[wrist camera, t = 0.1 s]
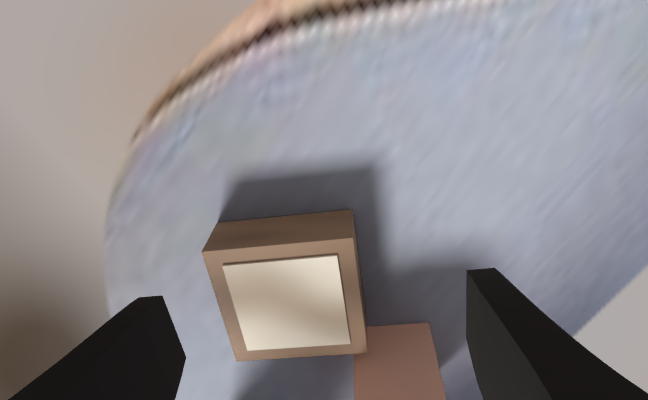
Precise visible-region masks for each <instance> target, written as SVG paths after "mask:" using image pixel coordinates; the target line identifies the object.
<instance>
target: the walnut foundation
mask: <svg viewBox="0 0 648 400" xmlns="http://www.w3.org/2000/svg"><path fill="white" fill-rule="evenodd" d="M202 255H203V258H204V261H205V264H206V267H207V270H208V274H209V277H210V280H211V283H212V286H213V289H214V292H215V296H216V299H217V302H218V305H219V308H220V311H221V314H222V318H223V321H224V324H225V327H226V330H227V333H228V336H229V340H230V343H231V346H232V349H233V352H234V355H235V358H236V361H250V360H265V359H281V358H296V357H312V356H327V355H343V354H359V353H368V344H367V323H366V311H365V303H364V296H363V288H362V280H361V272H360V264H359V257H358V249H357V241H356V233H355V225H354V218H353V210H352V209H348V210H338V211H328V212H318V213H309V214H299V215H289V216H279V217H269V218H259V219H249V220H239V221H229V222H219V223H217V224H216V226H215V228H214V230H213V231H212V233H211V235H210V237H209V239H208V241H207V243H206V245H205V247H204V248H203V250H202Z"/></svg>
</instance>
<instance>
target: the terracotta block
mask: <svg viewBox="0 0 648 400" xmlns="http://www.w3.org/2000/svg"><path fill="white" fill-rule="evenodd" d="M367 344H368V353H359V354H354V400H447V399H446V395H445V391H444V386H443V382H442V377H441V373H440V369H439V364H438V360H437V356H436V351H435V347H434V342H433V338H432V334H431V329H430V325H429V322H428V323H414V324H400V325H386V326H371V327H367Z"/></svg>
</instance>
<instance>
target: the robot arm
mask: <svg viewBox="0 0 648 400" xmlns="http://www.w3.org/2000/svg"><path fill="white" fill-rule="evenodd" d="M466 339H467V343H468V347H469V351H470V355H471V359H472V363H473V367H474V371H475V375H476V379H477V382H478V385H479V388H480V390H481V393H482V396H483V399H484V400H648V393H646V392H645V391H643V390H642V389H640V388H639V387H637V386H636V385H635V384H633V383H632V382H630V381H629V380H627V379H626V378H624V377H623V376H621V375H620V374H619V373H617V372H616V371H615V370H613V369H612V368H611V367H609V366H608V365H607V364H605V363H604V362H602V361H601V360H600V359H599V358H597V357H596V356H595V355H594V354H592V353H591V352H590V351H588V350H587V349H586V348H585V347H583V346H582V345H581V344H580V343H579V342H577V341H576V340H575V339H574V338H572V337H571V336H570V335H569V334H568V333H566V332H565V331H564V330H563V329H562V328H561V327H559V326H558V325H557V324H556V323H555V322H554V321H552V320H551V319H550V318H549V317H548V316H547V315H545V314H544V313H543V312H542V311H541V310H540V309H539V308H538V307H536V306H535V305H534V304H533V303H532V302H531V301H530V300H529V299H528V298H527V297H526V296H524V295H523V294H522V293H521V292H520V291H519V290H518V289H517V288H516V287H515V286H514V285H513V284H512V283H511V282H510V281H509V280H508V279H506V278H505V277H504V276H503V275H502V274H501V273H500V272H499V271H498V270H497V269H495V268H488V269H476V270H467V308H466ZM185 360H186V356H185V353H184V351H183V348H182V345H181V343H180V340H179V338H178V335H177V333H176V330H175V327H174V325H173V322H172V320H171V317H170V314H169V312H168V309H167V307H166V304H165V301H164V299H163V296H152V297H140V298H137V299H136V300H135V301H133V302H132V303H130V304H129V305H128V306H126V307H125V308H124V309H122V310H121V311H120V312H119V313H117V314H116V315H115V316H114V317H112V318H111V319H110V320H109V321H107V322H106V323H105V324H104V325H103V326H101V327H100V328H99V329H98V330H96V331H95V332H94V333H93V334H92V335H91V336H89V337H88V338H87V339H85V340H84V341H83V342H82V343H81V344H79V345H78V346H77V347H76V348H74V349H73V350H72V351H71V352H70V353H68V354H67V355H66V356H65V357H63V358H62V359H61V360H60V361H58V362H57V363H56V364H54V365H53V366H52V367H51V368H49V369H48V370H47V371H45V372H44V373H43V374H41V375H40V376H39V377H37V378H36V379H35V380H34V381H32V382H31V383H30V384H28V385H27V386H26V387H24V388H23V389H22V390H20V391H19V392H18V393H17V394H15V395H14V396H13V397H11V398H10V399H8V400H175V398H176V394H177V391H178V387H179V383H180V380H181V376H182V372H183V368H184V364H185Z"/></svg>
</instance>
